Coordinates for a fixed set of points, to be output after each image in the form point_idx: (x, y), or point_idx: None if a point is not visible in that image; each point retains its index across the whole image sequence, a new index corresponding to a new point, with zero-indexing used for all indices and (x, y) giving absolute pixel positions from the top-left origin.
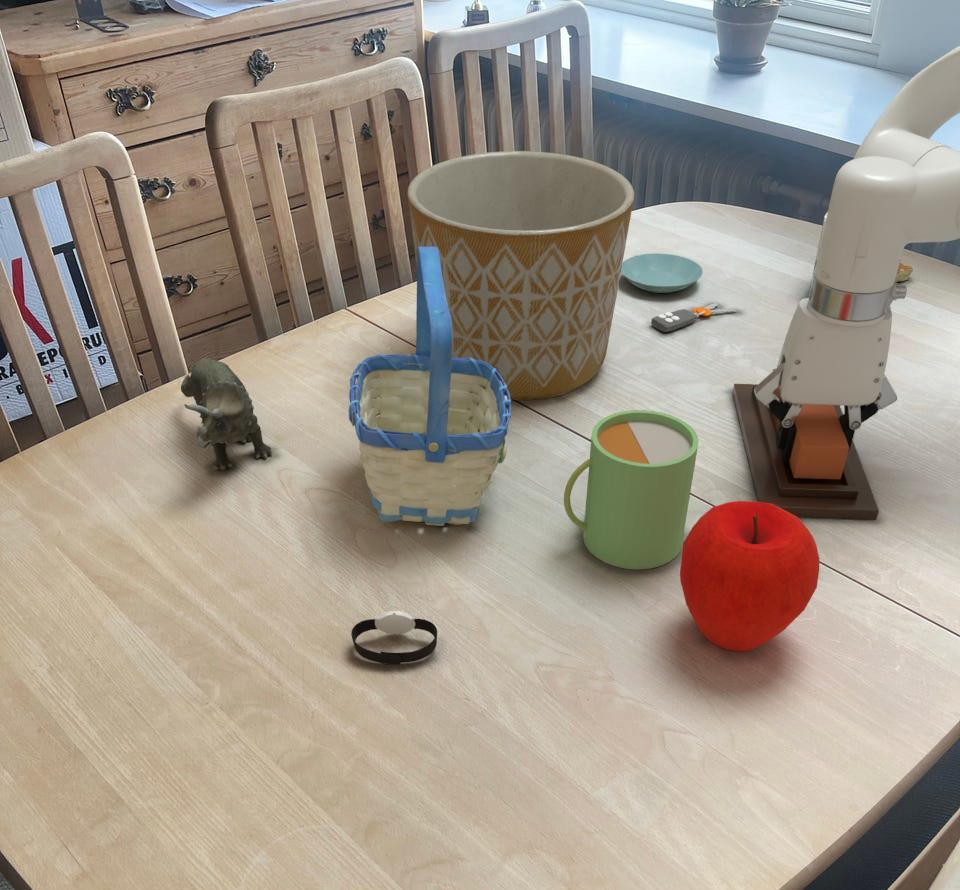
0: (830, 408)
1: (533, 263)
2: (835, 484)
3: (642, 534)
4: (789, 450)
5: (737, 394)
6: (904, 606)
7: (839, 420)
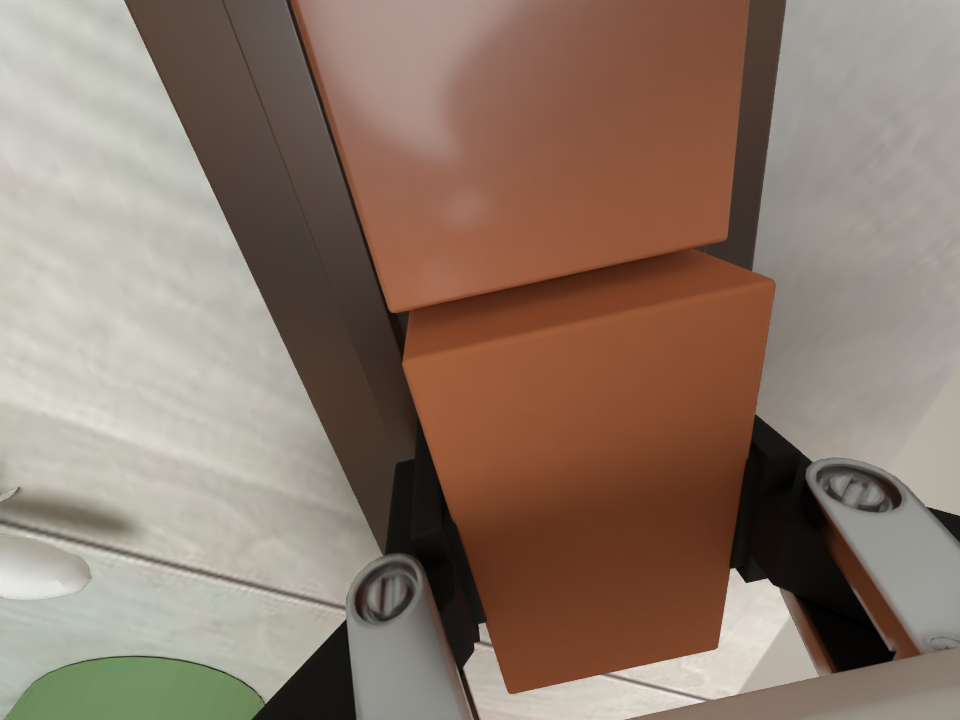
0: (731, 359)
1: None
2: None
3: None
4: None
5: None
6: (678, 691)
7: (745, 490)
